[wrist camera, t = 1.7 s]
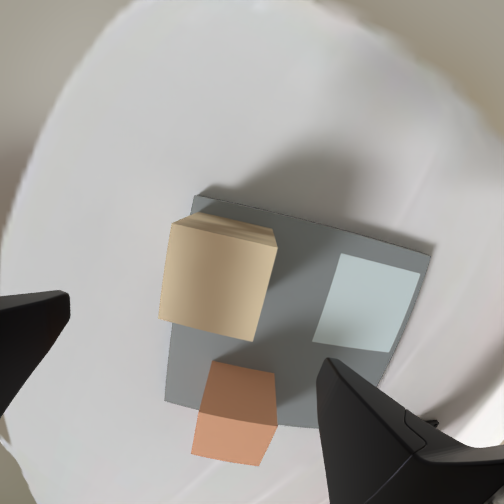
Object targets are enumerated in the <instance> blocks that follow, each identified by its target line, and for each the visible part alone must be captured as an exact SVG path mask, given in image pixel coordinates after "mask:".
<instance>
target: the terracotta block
mask: <svg viewBox="0 0 504 504" xmlns="http://www.w3.org/2000/svg"><path fill="white" fill-rule="evenodd" d="M277 427H278V424H277V407H276V391H275V376H274V373H270V372H265V371H259V370H254V369H249V368H244V367H239V366H234V365H230V364H225V363H221V362H216V361H212V363H211V367H210V371H209V374H208V378H207V382H206V386H205V390H204V394H203V397H202V401H201V405H200V409H199V413H198V418H197V424H196V429H195V435H194V440H193V446H192V451H191V454H194V455H198V456H202V457H207V458H212V459H217V460H222V461H228V462H233V463H240V464H246V465H254V466H259V464H260V462H261V460H262V458H263V456H264V454H265V452H266V450H267V448H268V446H269V444H270V442H271V440H272V438H273V435H274V433H275V431H276V429H277Z"/></svg>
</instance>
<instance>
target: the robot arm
mask: <svg viewBox="0 0 504 504" xmlns="http://www.w3.org/2000/svg"><path fill="white" fill-rule="evenodd" d="M69 319H70V296H69V294H68V293H66V292H63V291H61V290H55V291H46V292H37V293H28V294H19V295H9V296H0V418H1V416H2V415H3V413H4V412H5V410H6V409H7V407H8V406H9V404H10V403H11V401H12V400H13V399H14V397H15V396H16V394H17V393H18V391H19V390H20V389H21V387H22V386H23V385H24V383H25V382H26V380H27V379H28V378H29V376H30V375H31V374H32V372H33V371H34V370H35V368H36V367H37V366H38V364H39V363H40V362H41V361H42V359H43V358H44V357H45V355H46V354H47V353H48V351H49V350H50V349H51V347H52V346H53V344H54V343H55V341H56V340H57V338H58V336H59V335H60V333H61V332H62V330H63V329H64V327H65V326H66V324H67V323H68V321H69ZM316 396H317V419H318V426H319V432H320V438H321V445H322V451H323V458H324V464H325V471H326V478H327V485H328V492H329V500H330V504H504V445H498V446H492V447H485V448H474V447H470V446H467V445H465V444H463V443H461V442H459V441H457V440H455V439H454V438H452V437H450V436H448V435H447V434H445V433H443V432H441V431H440V430H438V429H436V427H437V426H438V424H439V422H438V421H437V420H433V421H423V420H422V419H420V418H419V417H417V416H416V415H414V414H413V413H411V412H410V411H409V410H407V409H406V410H405V408H404V407H403V406H402V405H400V404H399V403H397V402H396V401H395V400H393V399H392V398H390V397H389V396H388V395H386V394H385V393H384V392H382V391H381V390H379V389H378V388H377V387H375V386H374V385H373V384H371V383H370V382H369V381H367V380H366V379H365V378H363V377H362V376H360V375H359V374H358V373H356V372H355V371H354V370H352V369H351V368H350V367H348V366H347V365H346V364H344V363H343V362H342V361H340V360H339V359H337V358H331V357H327V358H325V359H324V361H323V363H322V366H321V368H320V371H319V373H318V375H317V378H316Z"/></svg>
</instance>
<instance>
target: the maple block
mask: <svg viewBox="0 0 504 504" xmlns="http://www.w3.org/2000/svg"><path fill="white" fill-rule="evenodd" d="M277 249H278V247H277V243H276V240H275V236H274V233H273V230H272V229H271V228H267V227H263V226H259V225H254V224H250V223H246V222H241V221H237V220H233V219H228V218H224V217H219V216H215V215H210V214H206V213H201V212H197V213H194V214H192V215H190V216H187V217H185V218H183V219H180V220H178V221H176V222H174V223H172V225H171V230H170V236H169V242H168V248H167V255H166V261H165V268H164V275H163V283H162V290H161V298H160V307H159V316H158V319H162V320H165V321H169V322H173V323H176V324H180V325H184V326H188V327H191V328H195V329H199V330H203V331H207V332H211V333H216V334H220V335H224V336H229V337H233V338H237V339H242V340H247V341H251V342H253V339H254V336H255V332H256V328H257V325H258V321H259V317H260V314H261V310H262V306H263V302H264V299H265V295H266V291H267V287H268V284H269V280H270V276H271V272H272V268H273V265H274V261H275V257H276V253H277Z"/></svg>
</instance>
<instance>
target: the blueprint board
mask: <svg viewBox="0 0 504 504" xmlns="http://www.w3.org/2000/svg"><path fill="white" fill-rule="evenodd" d="M197 212H201V213H206V214H210V215H215V216H219V217H224V218H228V219H233V220H237V221H241V222H246V223H250V224H254V225H259V226H263V227H267V228H271V229H272V230H273V233H274V236H275V240H276V243H277V247H278V249H277V253H276V257H275V261H274V265H273V268H272V272H271V276H270V280H269V284H268V287H267V291H266V295H265V299H264V302H263V306H262V310H261V314H260V317H259V321H258V325H257V328H256V332H255V336H254V339H253V342H251V341H247V340H242V339H237V338H233V337H229V336H224V335H220V334H216V333H211V332H207V331H203V330H199V329H195V328H191V327H188V326H184V325H180V324H176V323H172V331H171V339H170V348H169V357H168V366H167V376H166V387H165V399H164V401H167V402H170V403H174V404H177V405H181V406H185V407H189V408H192V409H196V410H199V409H200V405H201V401H202V397H203V394H204V390H205V386H206V382H207V378H208V374H209V371H210V367H211V363H212V361H216V362H221V363H225V364H230V365H234V366H239V367H244V368H249V369H254V370H259V371H265V372H270V373H274V376H275V391H276V407H277V424H278V425H285V426H294V427H305V428H318V429H319V426H318V419H317V396H316V378H317V375H318V373H319V371H320V368H321V366H322V363H323V361H324V359H325V358H327V357H331V358H337V359H339V360H340V361H342V362H343V363H344V364H346V365H347V366H348V367H350V368H351V369H352V370H354V371H355V372H356V373H358V374H359V375H360V376H362V377H363V378H365V379H366V380H367V381H369V382H370V383H371V384H373V385H374V386H375V387H376V386H377V385H378V383H379V381H380V379H381V377H382V375H383V373H384V371H385V369H386V367H387V365H388V363H389V361H390V359H391V357H392V355H393V353H394V351H395V349H396V347H397V344H398V342H399V340H400V338H401V336H402V333H403V331H404V329H405V326H406V324H407V322H408V319H409V317H410V314H411V312H412V309H413V307H414V304H415V302H416V299H417V296H418V294H419V291H420V288H421V285H422V282H423V280H424V277H425V274H426V271H427V268H428V264H429V261H430V258H431V256H429V255H427V254H424V253H421V252H418V251H415V250H411V249H408V248H405V247H401V246H398V245H395V244H391V243H388V242H384V241H381V240H377V239H374V238H370V237H367V236H363V235H360V234H356V233H352V232H349V231H345V230H341V229H338V228H334V227H330V226H326V225H322V224H319V223H315V222H311V221H307V220H303V219H299V218H295V217H291V216H287V215H283V214H279V213H275V212H271V211H266V210H262V209H258V208H254V207H249V206H245V205H241V204H236V203H232V202H227V201H223V200H218V199H213V198H209V197H204V196H199V195H195V196H194V199H193V204H192V208H191V213H190V215H192V214H194V213H197Z"/></svg>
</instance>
